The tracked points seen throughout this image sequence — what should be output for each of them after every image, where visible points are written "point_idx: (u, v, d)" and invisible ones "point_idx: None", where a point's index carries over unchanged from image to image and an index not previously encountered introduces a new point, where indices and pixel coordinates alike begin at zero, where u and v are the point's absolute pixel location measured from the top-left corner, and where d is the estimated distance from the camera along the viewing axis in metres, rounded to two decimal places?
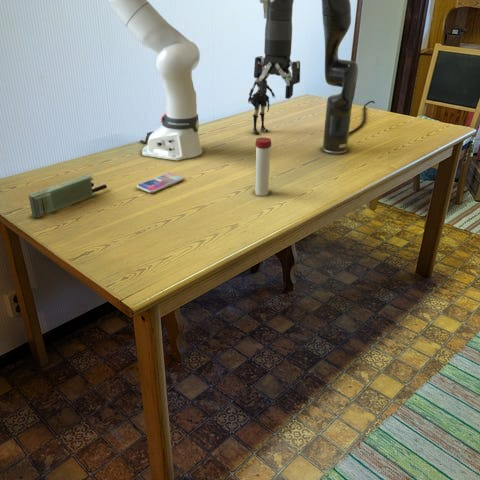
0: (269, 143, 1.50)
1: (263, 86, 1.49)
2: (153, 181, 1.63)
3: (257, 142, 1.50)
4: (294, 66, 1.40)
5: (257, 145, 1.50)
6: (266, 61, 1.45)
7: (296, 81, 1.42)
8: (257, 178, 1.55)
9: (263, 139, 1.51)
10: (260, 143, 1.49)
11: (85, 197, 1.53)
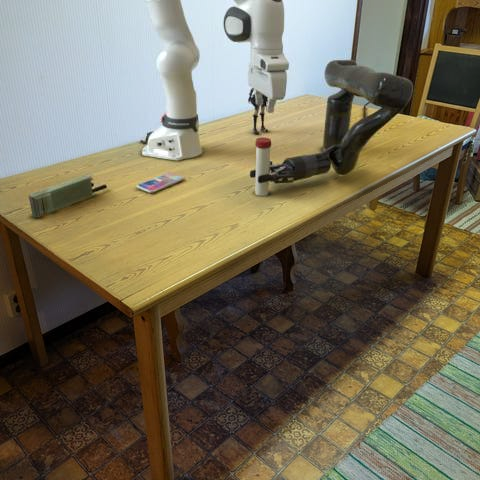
0: (269, 143, 1.50)
1: None
2: (153, 181, 1.63)
3: (257, 142, 1.50)
4: None
5: (257, 145, 1.50)
6: None
7: None
8: (257, 178, 1.55)
9: (263, 139, 1.51)
10: (260, 143, 1.49)
11: (85, 197, 1.53)
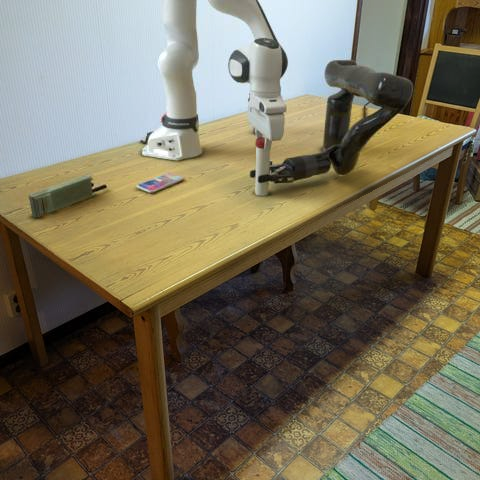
0: None
1: None
2: (153, 181, 1.63)
3: (257, 142, 1.50)
4: None
5: (257, 145, 1.50)
6: None
7: None
8: (257, 178, 1.55)
9: (263, 139, 1.51)
10: (260, 143, 1.49)
11: (85, 197, 1.53)
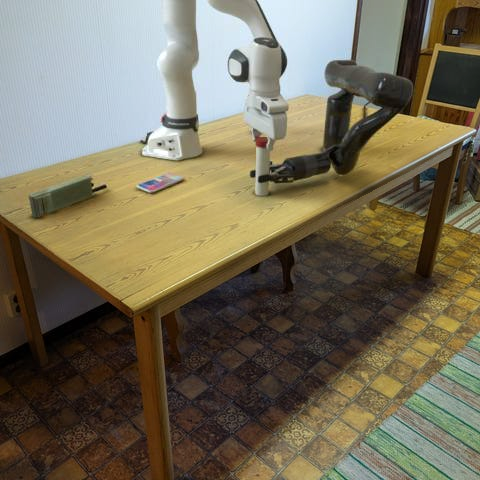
0: None
1: None
2: (153, 181, 1.63)
3: (265, 142, 1.49)
4: None
5: (265, 145, 1.49)
6: None
7: None
8: (257, 178, 1.55)
9: (262, 138, 1.51)
10: None
11: (85, 197, 1.53)
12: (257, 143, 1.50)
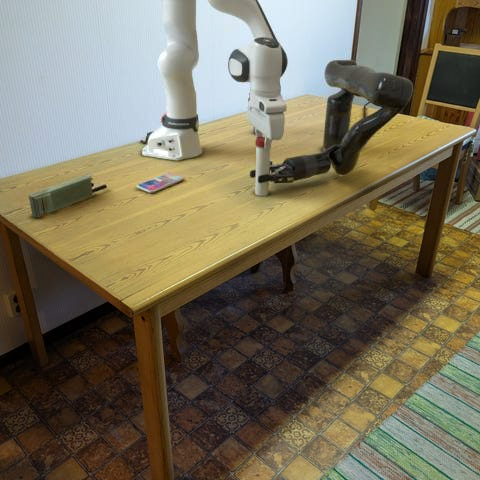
0: None
1: None
2: (153, 181, 1.63)
3: None
4: None
5: None
6: None
7: None
8: (257, 178, 1.55)
9: (262, 138, 1.51)
10: None
11: (85, 197, 1.53)
12: (257, 143, 1.50)
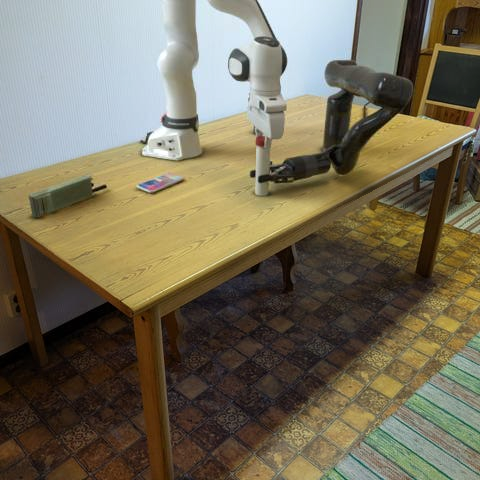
0: None
1: None
2: (153, 181, 1.63)
3: None
4: None
5: None
6: None
7: None
8: (257, 178, 1.55)
9: (262, 138, 1.50)
10: None
11: (85, 197, 1.53)
12: None
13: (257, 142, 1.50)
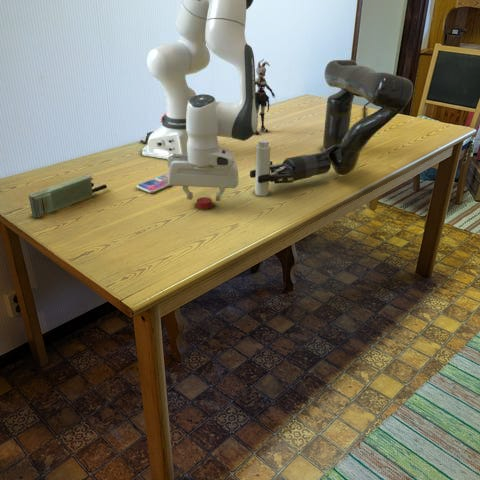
0: None
1: None
2: (153, 181, 1.63)
3: None
4: None
5: None
6: None
7: None
8: (257, 178, 1.55)
9: (204, 200, 1.50)
10: None
11: (85, 197, 1.53)
12: (211, 204, 1.50)
13: (205, 206, 1.48)
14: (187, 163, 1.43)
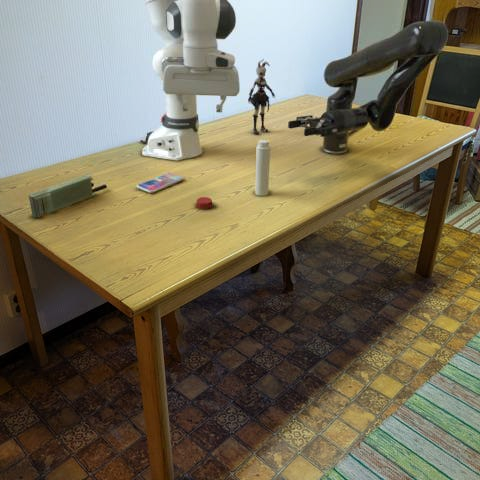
0: None
1: None
2: (153, 181, 1.63)
3: None
4: None
5: None
6: None
7: None
8: (257, 178, 1.55)
9: (204, 200, 1.50)
10: None
11: (85, 197, 1.53)
12: (211, 204, 1.50)
13: (205, 206, 1.48)
14: (183, 67, 1.30)
